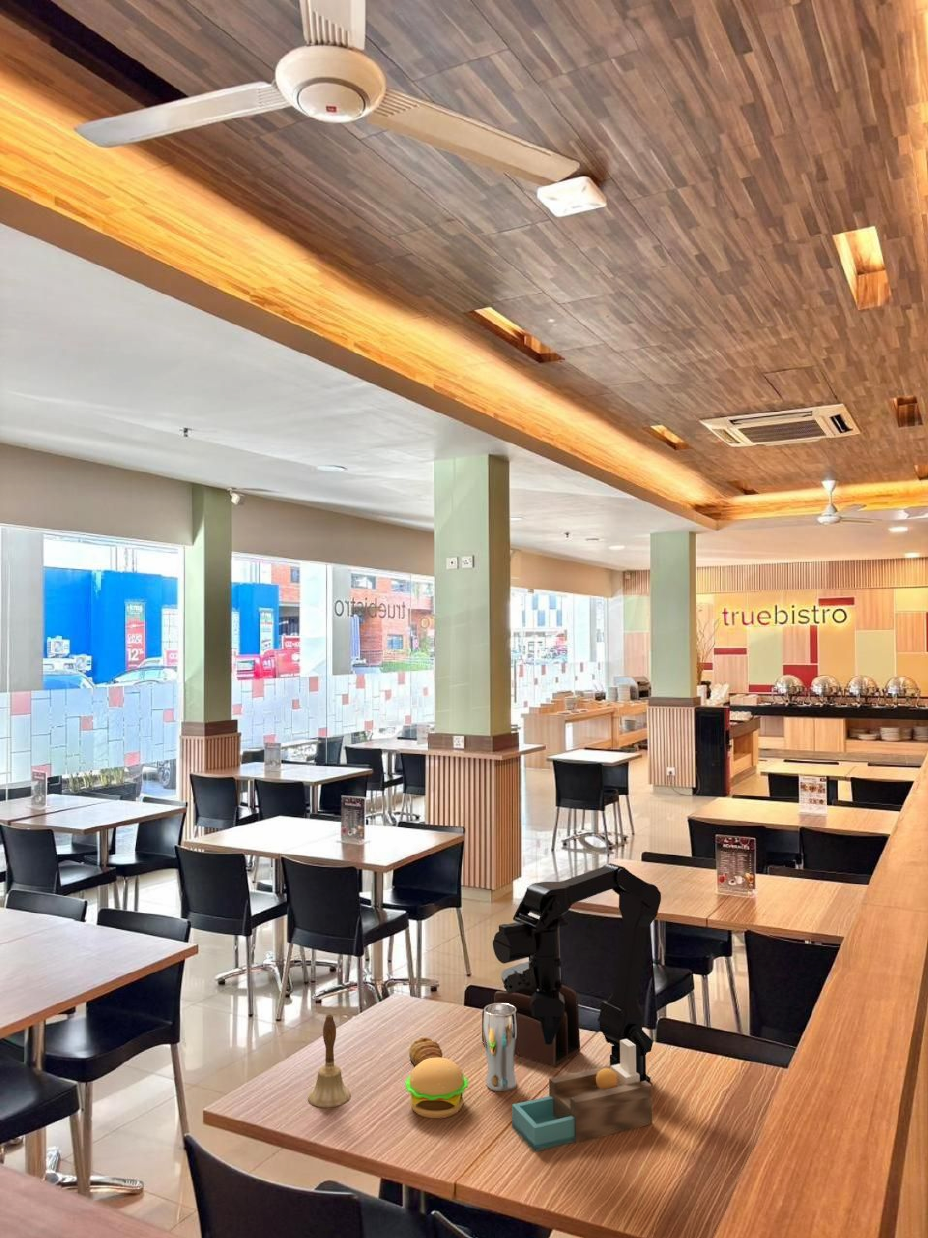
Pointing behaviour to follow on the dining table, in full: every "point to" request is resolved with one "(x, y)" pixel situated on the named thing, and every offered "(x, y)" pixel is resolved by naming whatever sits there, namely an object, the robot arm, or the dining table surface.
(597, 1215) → the dining table surface
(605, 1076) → the ball
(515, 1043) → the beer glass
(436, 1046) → the pastry
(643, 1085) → the launcher deck
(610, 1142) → the dining table surface
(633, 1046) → the white offset block
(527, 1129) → the teal open box
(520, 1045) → the letter holder
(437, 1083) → the hamburger
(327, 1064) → the hand bell
